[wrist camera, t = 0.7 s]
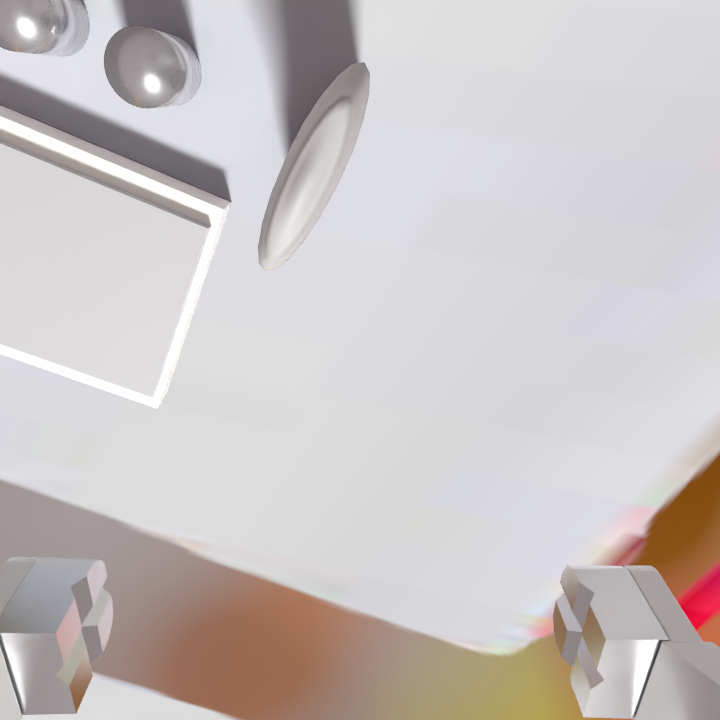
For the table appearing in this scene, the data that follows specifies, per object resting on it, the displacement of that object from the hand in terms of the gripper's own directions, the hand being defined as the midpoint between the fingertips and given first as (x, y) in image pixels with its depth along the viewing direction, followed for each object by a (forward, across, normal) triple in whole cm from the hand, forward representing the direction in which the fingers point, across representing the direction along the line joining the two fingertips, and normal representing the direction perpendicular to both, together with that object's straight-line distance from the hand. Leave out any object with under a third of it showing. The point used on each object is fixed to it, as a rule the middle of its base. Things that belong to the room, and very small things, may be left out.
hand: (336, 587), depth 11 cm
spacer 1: (+40, +20, -11) cm, 46 cm away
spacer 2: (+39, +13, -8) cm, 42 cm away
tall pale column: (+40, +2, -4) cm, 40 cm away
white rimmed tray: (+39, +22, +5) cm, 46 cm away
